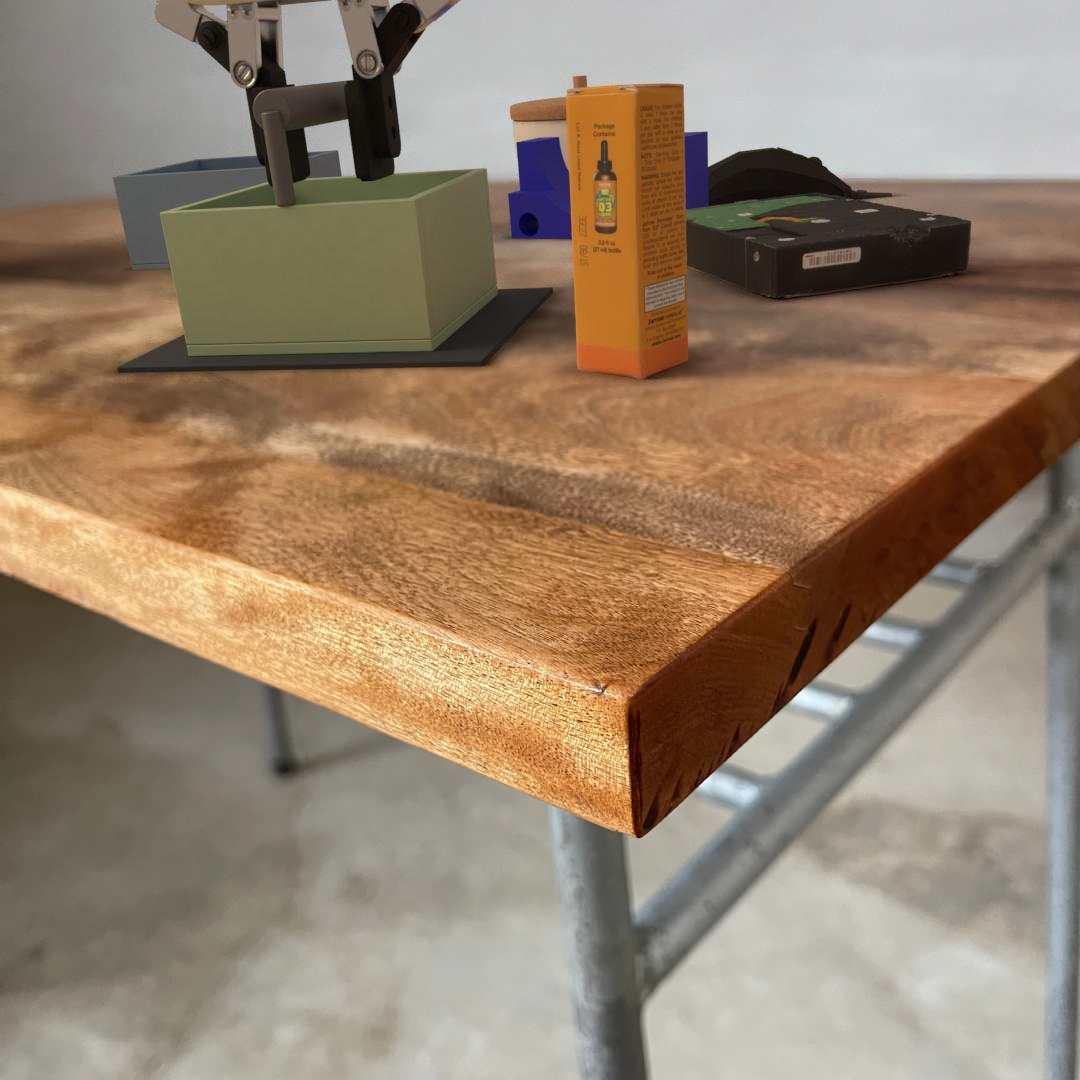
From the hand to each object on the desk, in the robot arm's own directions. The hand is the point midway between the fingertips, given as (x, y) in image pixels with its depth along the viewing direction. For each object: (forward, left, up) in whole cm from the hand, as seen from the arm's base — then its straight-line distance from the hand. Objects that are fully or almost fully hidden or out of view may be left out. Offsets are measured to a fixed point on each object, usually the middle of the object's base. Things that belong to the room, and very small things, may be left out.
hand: (332, 176), depth 49 cm
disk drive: (+20, +12, -7) cm, 24 cm away
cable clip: (+8, +25, -7) cm, 27 cm away
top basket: (0, 0, -7) cm, 7 cm away
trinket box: (+4, +40, -7) cm, 41 cm away
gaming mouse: (+19, +35, -7) cm, 40 cm away
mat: (0, 0, -7) cm, 7 cm away
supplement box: (+14, -7, -7) cm, 17 cm away
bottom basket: (-17, +24, -7) cm, 30 cm away
